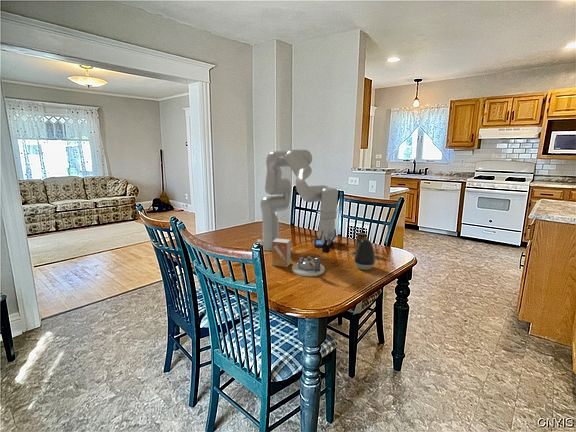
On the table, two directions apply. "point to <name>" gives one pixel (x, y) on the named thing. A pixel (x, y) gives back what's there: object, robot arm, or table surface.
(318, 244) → the handheld game console
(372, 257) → the pump dispenser
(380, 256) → the table surface
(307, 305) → the table surface
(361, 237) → the condiment
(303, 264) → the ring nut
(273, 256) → the small box
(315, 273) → the cap plate
